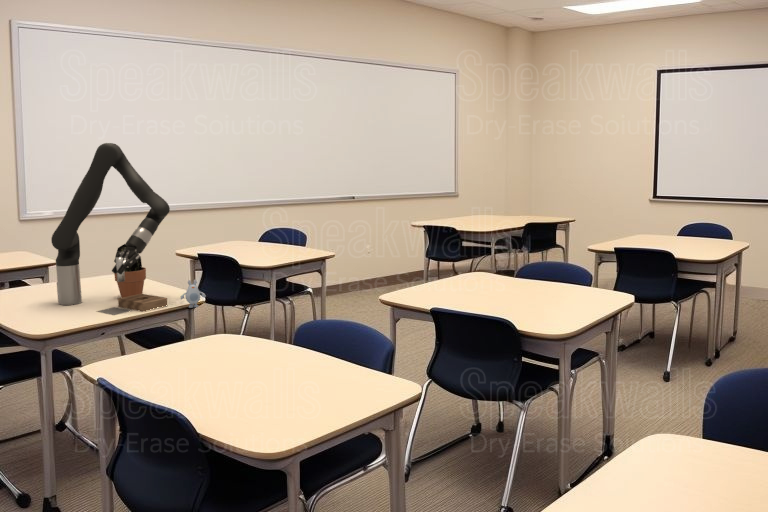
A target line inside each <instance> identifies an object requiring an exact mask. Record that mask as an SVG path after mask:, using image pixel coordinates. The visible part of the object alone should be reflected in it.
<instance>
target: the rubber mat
mask: <svg viewBox="0 0 768 512" xmlns="http://www.w3.org/2000/svg"><path fill="white" fill-rule="evenodd" d="M130 310H131V309H127V308H122V307H116V306H114V307H110V308H105V309H100V310H96V311H95V312H97V313H101V314H106V315H112V316H117V315H120V314H125V313H129V311H130ZM130 312H131V311H130Z"/></svg>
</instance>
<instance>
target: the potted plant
mask: <svg viewBox="0 0 768 512" xmlns="http://www.w3.org/2000/svg"><path fill="white" fill-rule="evenodd" d="M125 248H126V243H124V244H121V246H119V247H117V250H116V253H115V257H116V254H117V252H118V251H120V252H122V251H123V250H124V249H125ZM115 257H114V258H115ZM132 262H133V261H132ZM142 263H143V262H142V257H141V258H140V259H139V260H138V261H137V262H136V263H135V264H133V265H132V266H131V267H130V266H129V267H127V268H126V269H125V270H124V273H125V281H124V282H117V273H116V274H115V273H113V275H114V281H115V282H116V284H117V287H118V290H119V294H120V298H123V297H128V296H133V295H137V294H144V286H145V284H144V283H145V280H146V279H147V272H146V271H147V268H146V267H144V266H143V264H142Z"/></svg>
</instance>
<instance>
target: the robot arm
mask: <svg viewBox="0 0 768 512" xmlns="http://www.w3.org/2000/svg"><path fill="white" fill-rule="evenodd" d="M112 167H113V168H114V169H115V170H116V171H117V172H118V173H119V174H120V176H122V177H121V178H123V179H124V181H125V183H126V184H127V186H128V187H129V190H130V191H131V192H132V193H133V194H134V196H136V197H137V199H138V200H139V201H140V202H141V203H142V204H147V205H148V206H149V207H150V209H149V211H148V212H147V214H146V216H145V217H144V219H143V220H142V221H141V222H140V223H139V225H137V228H136V229H134V231H133V232H132V233H131V234H130V237H129V238H128V239H127V241H126V242H125V244H126V248H125V249H124V250H123V251H122V252H120V251H118V252H117V251H116V253H117V254H116V253H115V256H116V257H123V259H124V262H123V265H121V266H120V267H119V269H118V270H117V269H116V257H114V259H113V260H114V261H113V262H114V263H115V265H114V266H113V267H112V268H111V272H112V273H113V274H114V273H115V274H116V273H117V272H118V273H119V274H122V273H123V272H124V270H125V269H126V268H127V267H129V266H130V267H131V266H132V265H133V264H135V263H136V262H137V261H138V260H139V259H140V258H141V259H142V256H141V254H142V253H143V251H144V250H145V249H146V247H147V245H148V244H149V243H150V241H151V239H152V238H153V236H154V235H155V233H156V232H157V230H158V228H159V226H160V225H161V223H162V222H163V221H164V219H165V218H166V217H167V216H168V214H170V211H171V209H170V205H169V203H168V202H167V200H165V199H164V198H162V196H160V195H159V194H158V193H156V192H155V191H154V190H153V189H152V188H151V186H150V185H149V184H148V183H147V182H146V181H145V179H143V177H142V176H141V175H140V174H139V173H138V171H137V170H136V169H135V167H133V165H132V164H131V162H130V161H129V159H128V158H127V156H126V154H125V153H124V152H123V150H122V149H121V147H120V146H119V145H118V144H116V143H113V142H105V143H101V144H99V146H98V147H96V151H95V153H94V156H93V158H92V161H91V164H90V166H89V168H88V170H87V172H86V174H85V175H84V177H83V179H82V180H81V183H80V184H79V186H78V188H77V190H76V191H75V193H74V195H73V198H72V199H71V202H70V203H69V206H68V207H67V210H66V212H65V214H64V216H63V218H62V219H61V221H60V223H59V224H58V225H57V227H56V229H55V230H54V232H53V233H52V235H51V244H52V247H53V248H54V249H56V250H57V256H56V258H55V266H56V267H55V270H56V280H57V281H56V290H57V291H56V292H57V302H58V304H59V305H60V306H72V305H73V304H74V305H78V304H81V303H82V302H83V299H82V298H83V297H82V284H81V271H80V269H81V268H80V259H81V245H80V236H79V233H78V230H79V228H80V227H81V225H82V223H83V222H84V221H85V220H86V219H87V217H88V216H89V215H90V214H91V212H92V211H93V210H94V208H95V207H96V204H97V203H98V200H99V199H100V196H101V194H102V191H103V189H104V188H103V187H104V182H105V179H106V176H107V175H108V173H109V171H110V170H111V168H112ZM132 261H133V262H132ZM74 305H73V306H74Z"/></svg>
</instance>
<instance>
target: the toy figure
mask: <svg viewBox="0 0 768 512" xmlns="http://www.w3.org/2000/svg"><path fill="white" fill-rule="evenodd" d="M197 283H198V281H197V279H194V280H193V283H192V281H191V280H190V279H188V281H187V284H188V287H187V288H186V292H185V293H183V294H182V295H181V296H180V298H179V299H180V301H181V300H183V299H185V300H186V302H187V303H188V304H189V305H188V308H189V309H192V308H199V305H198V303H199V302H200V300H201V297H202V298H203V299H204V298H206V297H207V295H206V294H205V293H204V292H202V291H200V289H199V288H198V286H197Z"/></svg>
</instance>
